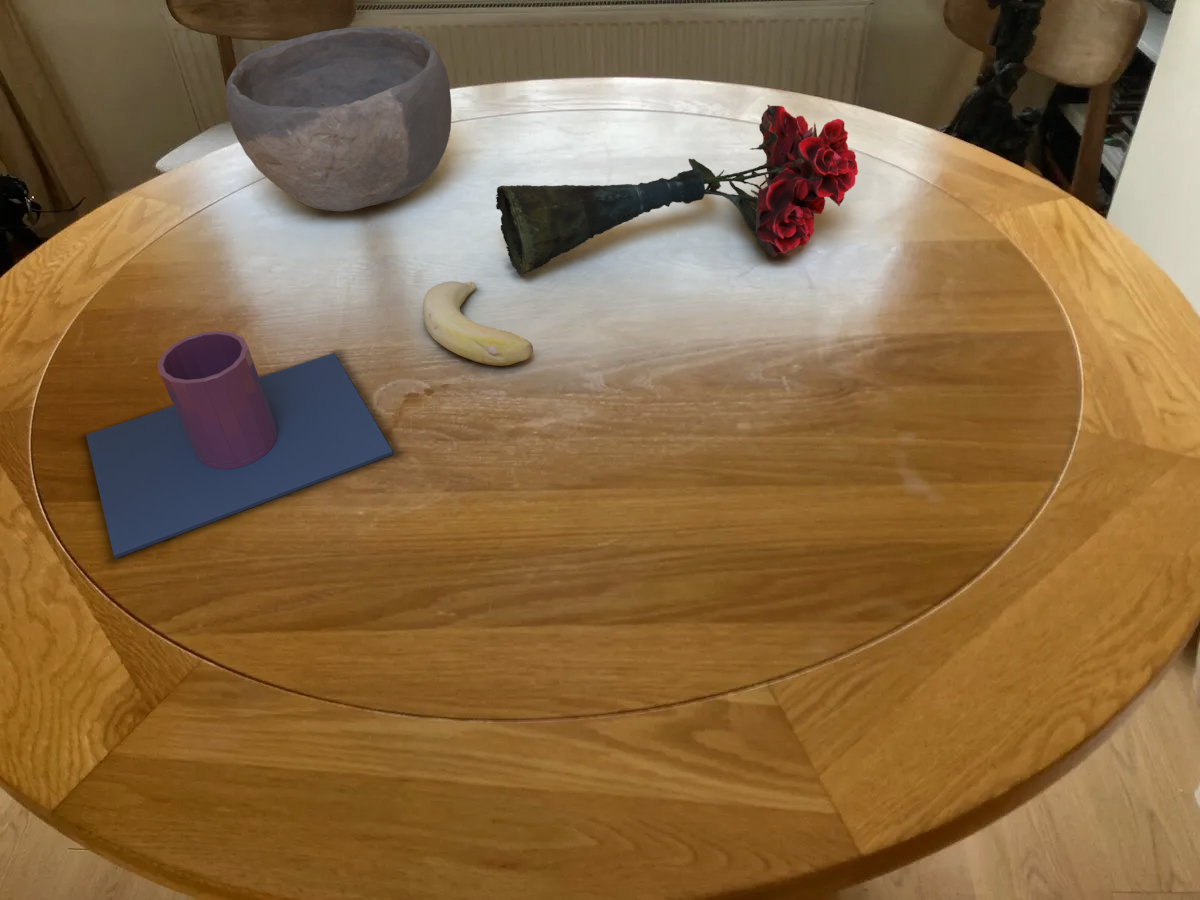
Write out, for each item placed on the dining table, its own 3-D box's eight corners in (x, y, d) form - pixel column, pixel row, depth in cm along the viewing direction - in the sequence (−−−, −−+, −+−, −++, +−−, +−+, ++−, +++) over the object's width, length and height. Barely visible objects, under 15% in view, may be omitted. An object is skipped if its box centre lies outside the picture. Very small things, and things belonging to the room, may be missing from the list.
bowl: (289, 264, 102) (249, 128, 92) (235, 176, 118) (195, 52, 108) (498, 202, 111) (481, 71, 100) (420, 128, 127) (400, 8, 116)
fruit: (463, 390, 85) (459, 360, 83) (406, 308, 95) (400, 279, 93) (537, 365, 87) (534, 335, 85) (473, 287, 97) (469, 259, 95)
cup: (205, 480, 77) (166, 393, 71) (188, 433, 82) (150, 347, 75) (287, 451, 79) (256, 364, 73) (266, 407, 84) (236, 321, 78)
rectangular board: (115, 559, 72) (113, 555, 71) (87, 438, 82) (85, 434, 82) (393, 454, 79) (392, 451, 79) (335, 356, 90) (334, 352, 89)
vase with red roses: (528, 336, 104) (819, 254, 110) (552, 313, 86) (899, 215, 92) (486, 195, 103) (782, 120, 109) (500, 141, 85) (854, 55, 91)
